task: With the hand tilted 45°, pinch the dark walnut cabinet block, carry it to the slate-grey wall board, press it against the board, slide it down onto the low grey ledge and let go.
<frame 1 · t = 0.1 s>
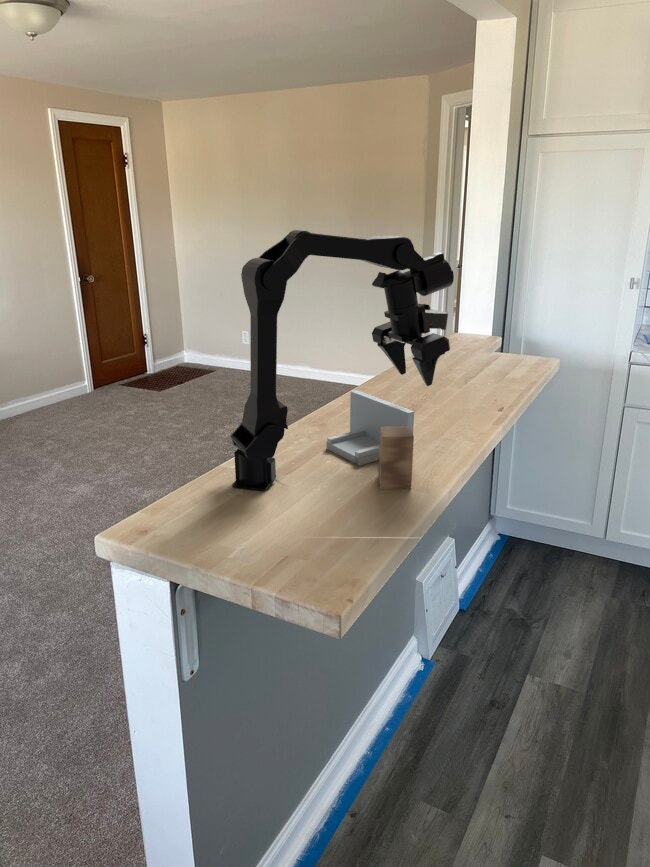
hand: (415, 379, 127), 15 cm above the worktop, tool pointing down, fingers open, 9 cm apart
walnut cabinet block: (394, 482, 118), on the worktop
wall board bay: (359, 451, 132), on the worktop
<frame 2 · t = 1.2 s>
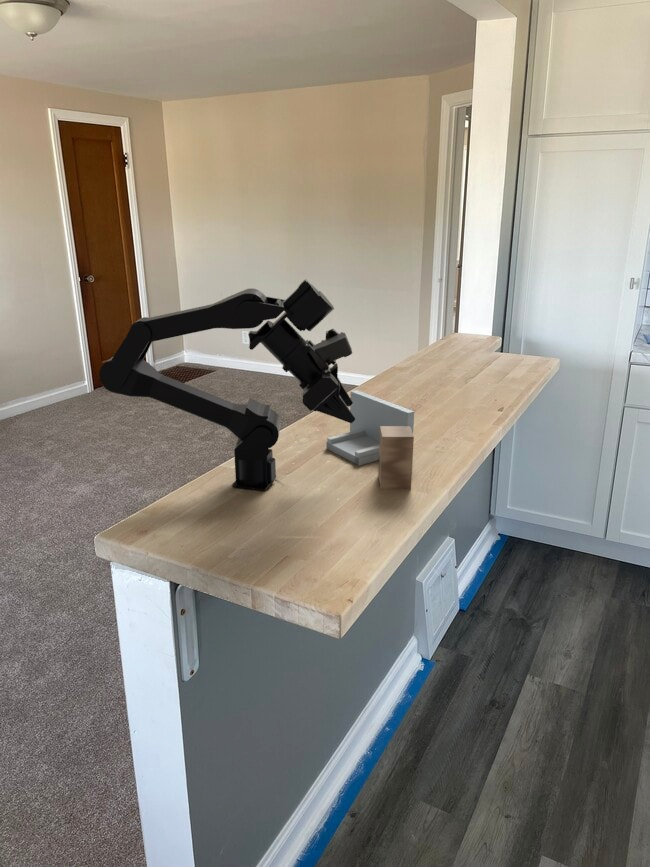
hand: (352, 412, 114), 13 cm above the worktop, tool tilted 45°, fingers open, 9 cm apart
nothing on the worktop moved.
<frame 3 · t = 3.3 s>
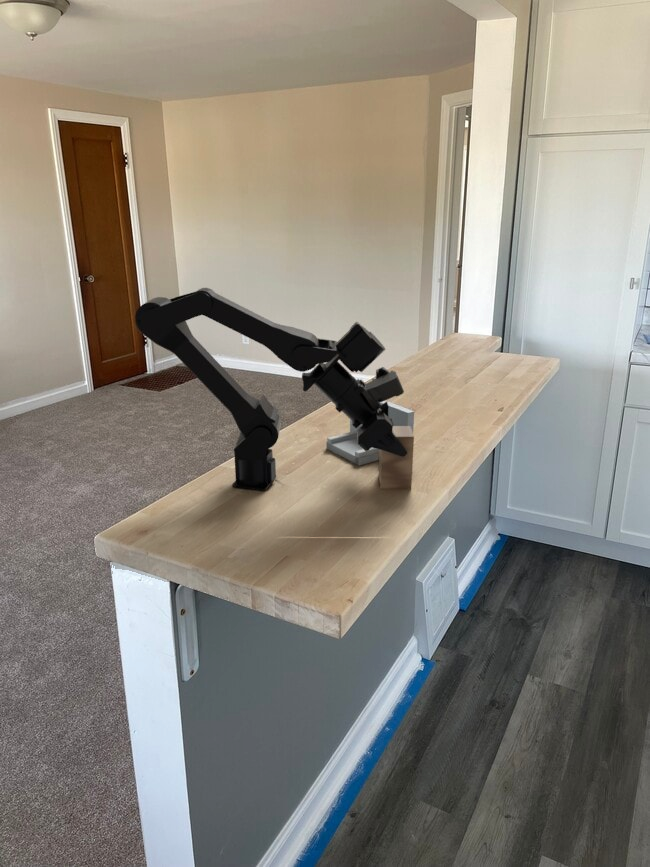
hand: (403, 448, 116), 7 cm above the worktop, tool tilted 45°, fingers closed on walnut cabinet block, 5 cm apart
walnut cabinet block: (394, 482, 118), on the worktop, touching gripper
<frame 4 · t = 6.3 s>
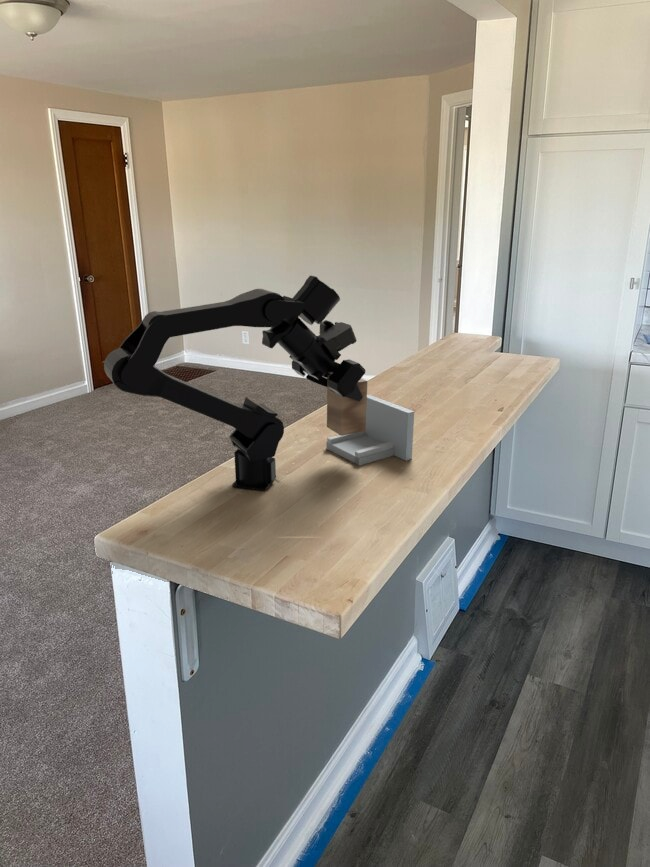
hand: (352, 395, 123), 14 cm above the worktop, tool tilted 45°, fingers closed on walnut cabinet block, 5 cm apart
walnut cabinet block: (346, 429, 125), point 7 cm above the worktop, touching gripper
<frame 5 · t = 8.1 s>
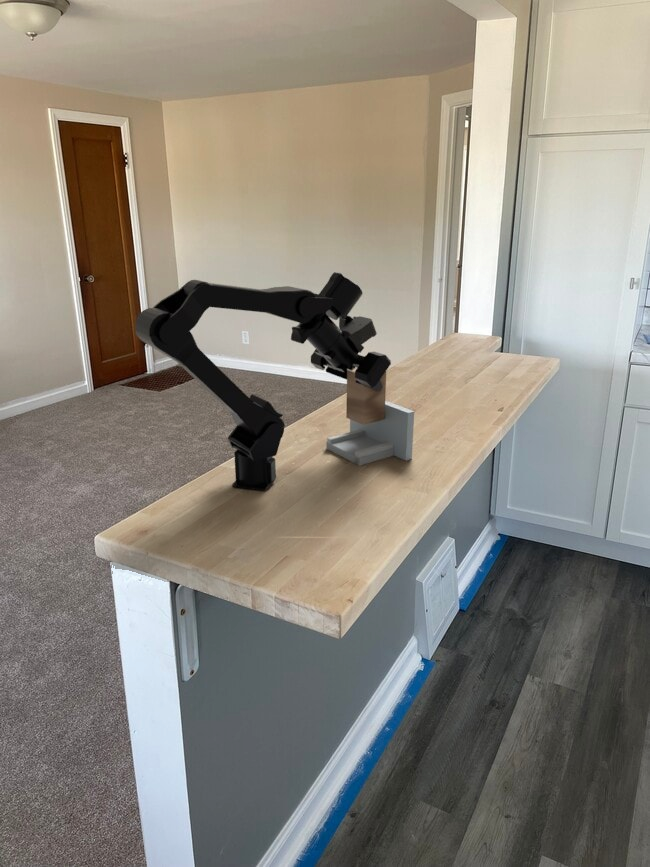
hand: (371, 386, 129), 14 cm above the worktop, tool tilted 45°, fingers closed on walnut cabinet block, 5 cm apart
walnut cabinet block: (365, 418, 130), point 7 cm above the worktop, touching gripper
when the fingers open (9 cm above the worktop, at t = 9.7 s): walnut cabinet block stays where it is, resting on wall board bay.
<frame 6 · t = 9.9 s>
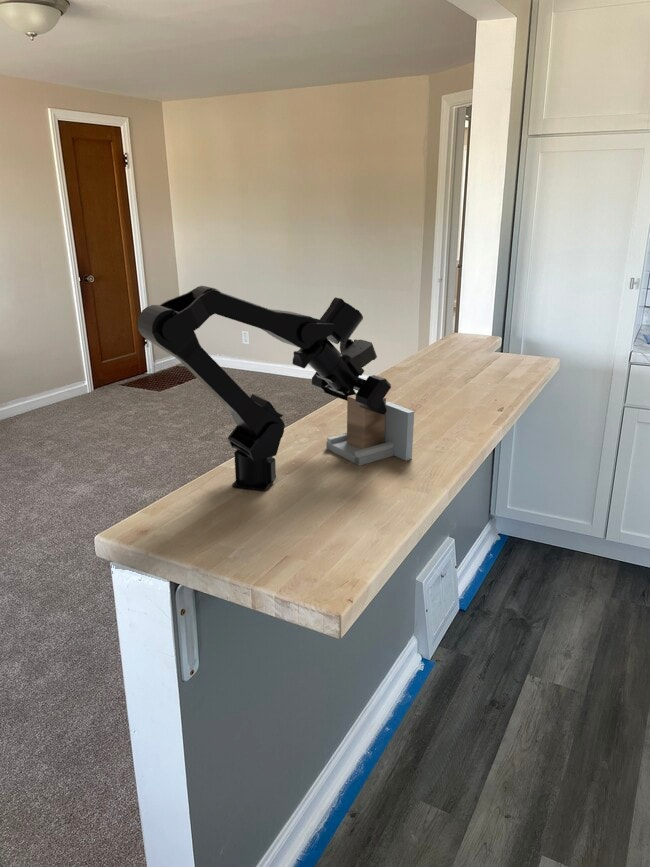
hand: (371, 407, 130), 9 cm above the worktop, tool tilted 45°, fingers open, 8 cm apart
walnut cabinet block: (365, 443, 132), point 1 cm above the worktop, touching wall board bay
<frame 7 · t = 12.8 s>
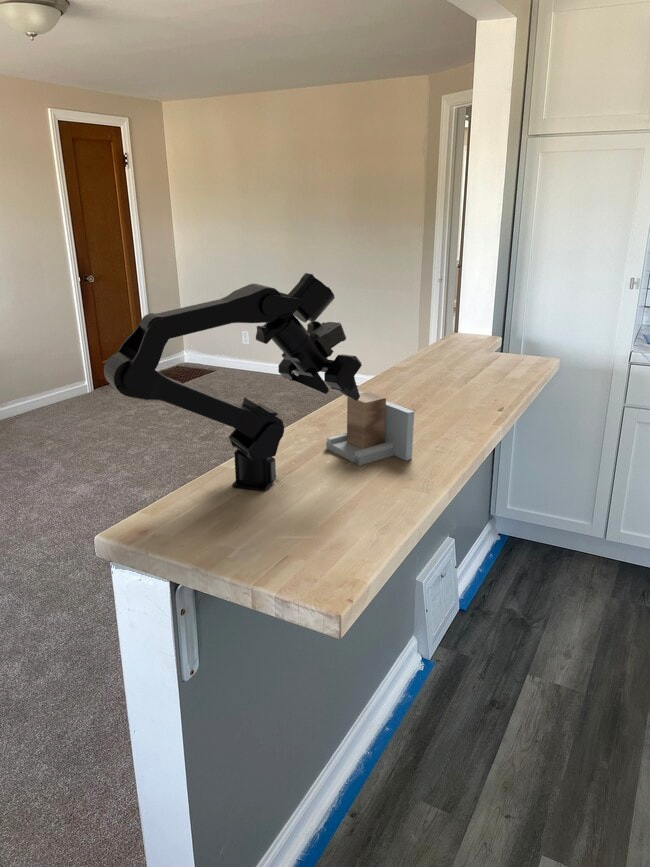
hand: (342, 395, 123), 13 cm above the worktop, tool tilted 40°, fingers open, 9 cm apart
nothing on the worktop moved.
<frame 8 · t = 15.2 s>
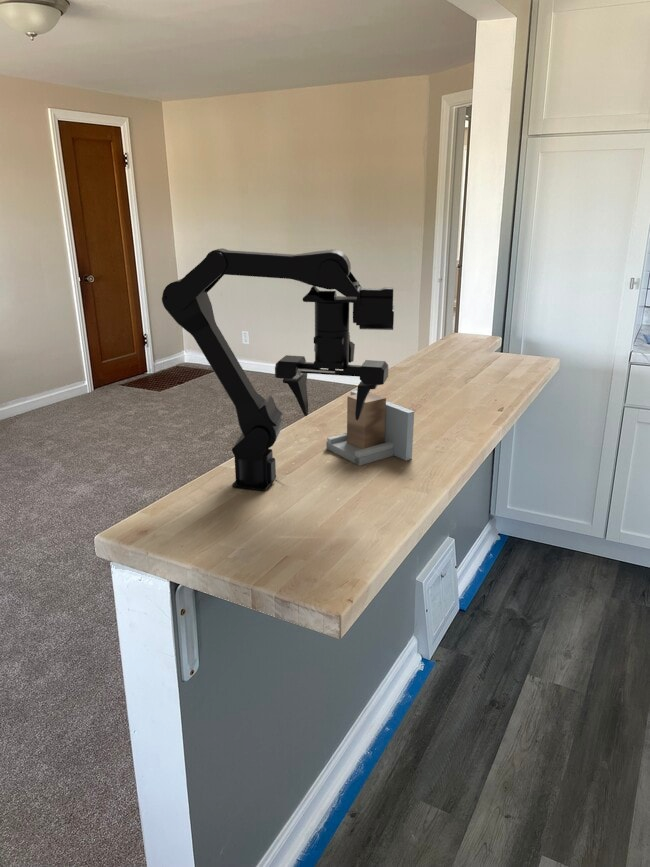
hand: (331, 417, 112), 13 cm above the worktop, tool pointing down, fingers open, 9 cm apart
nothing on the worktop moved.
at the end: walnut cabinet block 0.7 cm off-centre on the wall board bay, point 1.5 cm above the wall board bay's base; walnut cabinet block tilted 0°; the gripper is holding nothing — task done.
